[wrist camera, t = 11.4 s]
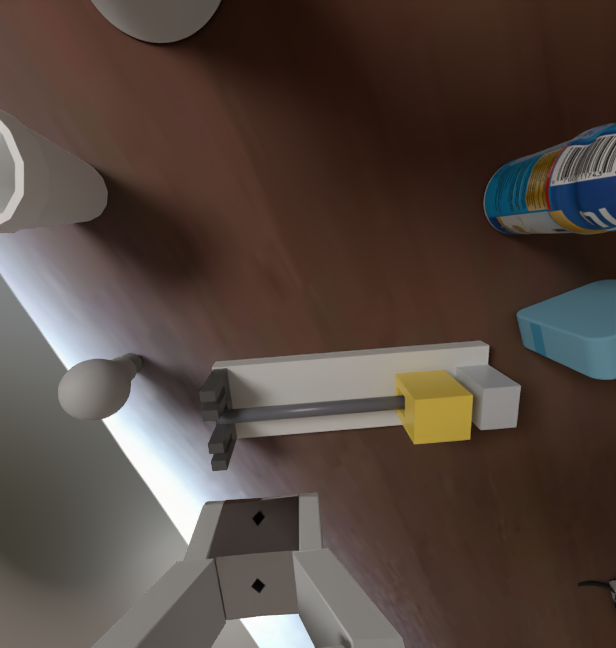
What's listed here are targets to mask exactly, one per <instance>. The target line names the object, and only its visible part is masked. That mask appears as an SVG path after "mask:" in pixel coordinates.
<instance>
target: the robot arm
mask: <svg viewBox="0 0 616 648" xmlns="http://www.w3.org/2000/svg"><path fill="white" fill-rule="evenodd" d="M91 1H92V2H93V4H94V5H95V6H96V8H97V9H98V10H99V11H100V12H101V14H102V15H103V16H104V17H105V18H106V19H107V20H108V21H109V22H111V23H112V24H113V25H114V26H116V27H117V28H118V29H120V30H121V31H123V32H125V33H126V34H128V35H130V36H132V37H135V38H137V39H140V40H143V41H147V42H154V43H168V42H174V41H178V40H181V39H184V38H186V37H188V36H190V35H192V34H194V33H195V32H197V31H198V30H199V29H200V28H202V27H203V26H204V25H205V24H206V23H207V22H208V21H209V19H210V18H211V17H212V15H213V14H214V13H215V11H216V9H217V8H218V6H219V4H220V2H221V0H91ZM284 614H299V616H300V618H301V620H302V622H303V624H304V626H305V628H306V630H307V632H308V634H309V636H310V638H311V640H312V642H313V644H314V646H315V648H404V644H403V640H402V637H401V636H400V635H399V634H398V632H397V631H396V630H395V629H394V628H393V626H392V625H391V624H390V623H389V621H388V620H387V619H386V618H385V616H384V615H383V614H382V613H381V612H380V610H379V609H378V608H377V607H376V605H375V604H374V603H373V602H372V600H371V599H370V598H369V597H368V595H367V594H366V593H365V592H364V591H363V589H362V588H361V587H360V586H359V584H358V583H357V582H356V581H355V579H354V578H353V577H352V576H351V574H350V573H349V572H348V571H347V570H346V568H345V567H344V566H343V565H342V563H341V562H340V561H339V560H338V558H337V557H336V556H335V555H334V554H333V552H332V551H331V550H330V549H323V539H322V527H321V516H320V504H319V495H318V493H317V492H315V493H305V494H298V495H287V496H277V497H266V498H253V499H236V500H226V501H209V502H206V503H205V505H204V506H203V508H202V510H201V513H200V516H199V519H198V521H197V524H196V527H195V530H194V533H193V535H192V538H191V541H190V544H189V547H188V549H187V552H186V555H185V558H184V561H180V562H176V563H175V564H174V565H173V566H172V567H171V568H170V570H168V571H167V572H166V573H165V574H164V575H163V576H162V577H161V578H160V579H159V580H158V582H156V583H155V584H154V585H153V586H152V587H151V588H150V589H149V590H148V591H147V592H146V593H145V594H144V595H143V596H142V597H141V598H140V599H139V600H138V601H137V602H136V603H135V604H134V605H133V606H132V607H131V608H130V610H128V611H127V612H126V613H125V614H124V615H123V616H122V617H121V618H120V620H118V621H117V622H116V623H115V624H114V625H113V626H112V627H111V628H110V629H109V630H108V631H107V632H106V633H105V634H104V635H103V637H101V638H100V639H99V640H98V642H96V643H95V644H94V645H93V646H92V647H91V648H211V647H212V645H213V643H214V642H215V640H216V638H217V637H218V635H219V634H220V632H221V630H222V629H223V627H224V625H225V624H226V621H225V620H232V619H240V618H248V617H256V616H266V615H284Z"/></svg>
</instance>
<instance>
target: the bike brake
mask: <svg viewBox="0 0 616 648" xmlns="http://www.w3.org/2000/svg"><path fill="white" fill-rule="evenodd" d="M609 584H610V586H608V585H606V584H603V583H599V582H593V581H586V582H581V583H578V586H599V587H603V588H606V589H608V590H610V591H611V592H612V597H613V599H614V601H615V607H616V580H615V581H614V580H612V581H610V582H609Z"/></svg>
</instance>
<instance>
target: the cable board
mask: <svg viewBox="0 0 616 648" xmlns="http://www.w3.org/2000/svg"><path fill="white" fill-rule="evenodd" d="M488 357H489V345H487V344H486V343H484V342H482V341H469V342H456V343H444V344H431V345H418V346H406V347H393V348H381V349H368V350H356V351H343V352H331V353H318V354H306V355H293V356H281V357H268V358H256V359H243V360H230V361H218V362H215V364H214V365H213V367H212V372H211V374H210V375H209V377H208V379H207V380H206V382H205V383H204V385H203V386H202V388H201V389H200V391H199V396H200V402H207V403H206V405H205V407H204V409H203V410H202V413H203V419H204V421H214V420H216V424H217V425H216V427H215V429H214V432H213V434H212V436H211V438H210V441H209V443H208V448H209V453H210V454H214V455H213V458H212V460H211V465H212V470H213V471H219V470H227V469H228V465H229V462H230V459H231V455H232V452H233V449H234V445H235V442H236V439H239V438H251V437H263V436H275V435H286V434H298V433H310V432H322V431H334V430H346V429H358V428H370V427H382V426H394V425H403V424H402V423H401V421H400V419H399V417H398V416H397V414H396V412H395V410H400V409H405V397H404V395H397V396H395V374H398V373H410V372H422V371H435V370H445V371H446V372H447V373H448V374H449V375H451V376H452V377H453V378H454V379H455V380H456V381H457V382H459V383H460V384H461V385H462V386H463V387H464V388H466V389H467V390H468V391H469V392H470V393H471V394H472V395H473V405H472V420H471V421H472V422H473V423H474V424H475V425H476V426H477V427H478V428H479V429H480V430H489V429H501V428H513V427H516V426H517V417H518V408H519V399H520V390H521V386H520V385H519V384H517V383H516V382H514V381H513V380H511V379H510V378H508V377H507V376H505V375H503V374H502V373H500V372H499V371H497V370H496V369H494V368H493V367H491V366H489V365H488Z"/></svg>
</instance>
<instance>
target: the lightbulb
mask: <svg viewBox="0 0 616 648" xmlns="http://www.w3.org/2000/svg"><path fill="white" fill-rule="evenodd" d="M141 367H142V361H141V359H140V358H139V357H138V356H137V355H135V354H132V353H129V354H126V355H124V356H122V357H118V358H115V359H113V360H106V359H92V360H87V361H83V362H81V363H79V364H77V365H75V366H74V367H72V368H71V369H70V370H69V371H68V372H67V373H66V374H65V375H64V377H63V378H62V380H61V382H60V384H59V388H58V397H59V401H60V404H61V406H62V407H63V409H64V410H65V411H66V412H67V413H68V414H70V415H71V416H73V417H75V418H78V419H82V420H99V419H103V418H106V417H109V416H111V415H112V414H114V413H116V412H117V411H118V410H119V409H120V408H121V407H122V406H123V405H124V404H125V402H126V401H127V399H128V397H129V394H130V388H131V380H132V379H133V378H134V377H135V375H136V373H137V372H138V371H139V370H140V369H141Z"/></svg>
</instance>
